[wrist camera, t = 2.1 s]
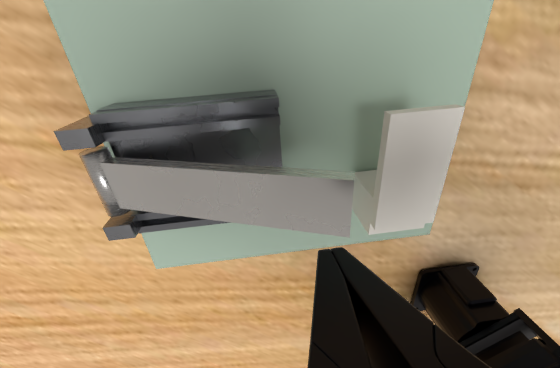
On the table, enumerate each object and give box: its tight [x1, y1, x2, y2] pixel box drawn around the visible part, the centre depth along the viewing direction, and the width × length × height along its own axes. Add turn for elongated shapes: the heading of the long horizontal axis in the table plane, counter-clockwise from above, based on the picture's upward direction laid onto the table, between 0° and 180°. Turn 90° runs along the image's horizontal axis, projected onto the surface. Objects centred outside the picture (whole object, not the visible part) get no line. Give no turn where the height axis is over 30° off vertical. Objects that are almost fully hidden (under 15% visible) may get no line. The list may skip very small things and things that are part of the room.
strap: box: [79, 146, 355, 238], centre depth 13 cm, size 4×15×1 cm, turn 94°
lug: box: [352, 104, 465, 235], centre depth 17 cm, size 8×4×4 cm, turn 4°
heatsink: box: [54, 89, 282, 241], centre depth 16 cm, size 8×11×4 cm
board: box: [44, 0, 494, 269], centre depth 19 cm, size 20×25×1 cm
